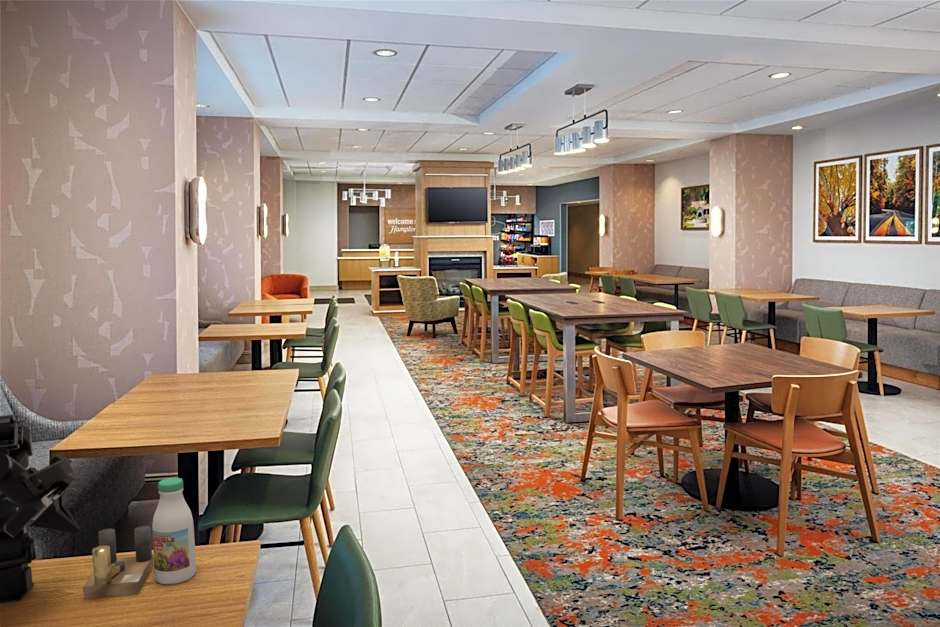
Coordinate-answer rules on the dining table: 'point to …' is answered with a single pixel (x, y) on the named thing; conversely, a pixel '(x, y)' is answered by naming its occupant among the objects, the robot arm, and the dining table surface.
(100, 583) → the gold cylinder with bar
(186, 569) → the milk bottle
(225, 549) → the dining table surface
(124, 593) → the square plate with pegs
